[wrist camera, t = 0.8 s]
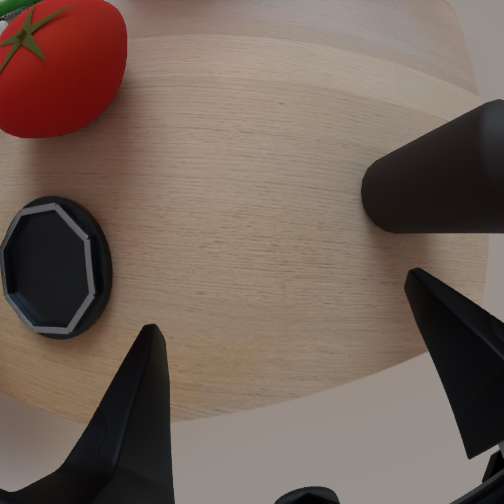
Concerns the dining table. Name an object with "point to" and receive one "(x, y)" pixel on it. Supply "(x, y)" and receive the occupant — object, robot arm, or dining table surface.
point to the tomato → (60, 66)
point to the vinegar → (443, 178)
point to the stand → (56, 267)
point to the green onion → (13, 5)
